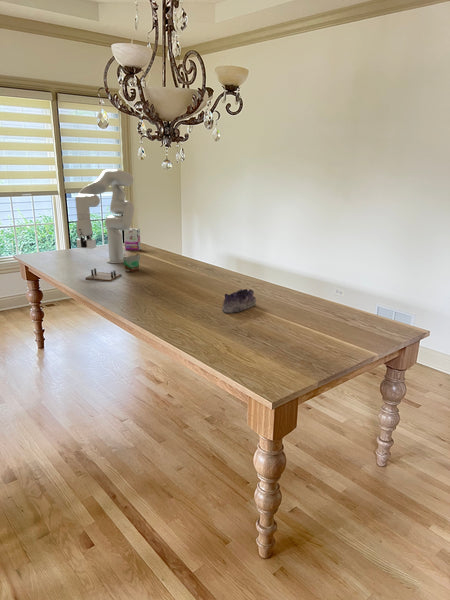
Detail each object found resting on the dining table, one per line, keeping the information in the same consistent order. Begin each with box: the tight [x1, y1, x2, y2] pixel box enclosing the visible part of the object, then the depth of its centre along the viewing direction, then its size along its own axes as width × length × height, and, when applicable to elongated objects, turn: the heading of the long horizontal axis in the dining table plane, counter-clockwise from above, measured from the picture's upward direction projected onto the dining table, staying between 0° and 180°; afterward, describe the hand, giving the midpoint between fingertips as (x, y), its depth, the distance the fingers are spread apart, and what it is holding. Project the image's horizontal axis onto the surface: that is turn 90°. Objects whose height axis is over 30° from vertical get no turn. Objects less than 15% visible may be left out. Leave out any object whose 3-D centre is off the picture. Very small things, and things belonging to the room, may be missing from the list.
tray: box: [85, 271, 122, 283], centre depth 262 cm, size 14×16×1 cm
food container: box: [123, 253, 141, 273], centre depth 276 cm, size 12×6×10 cm, turn 143°
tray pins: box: [90, 267, 117, 278], centre depth 261 cm, size 4×14×4 cm, turn 74°
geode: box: [222, 288, 257, 315], centre depth 211 cm, size 20×12×10 cm, turn 143°
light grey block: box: [75, 237, 97, 250], centre depth 267 cm, size 5×10×5 cm, turn 74°
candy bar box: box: [123, 227, 142, 251], centre depth 338 cm, size 11×5×16 cm, turn 80°
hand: (86, 246), depth 267 cm, fingers closed on light grey block, 5 cm apart
